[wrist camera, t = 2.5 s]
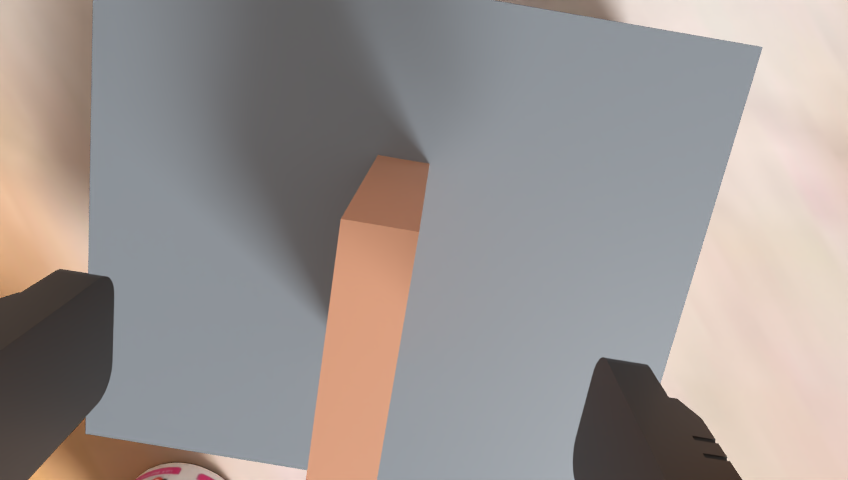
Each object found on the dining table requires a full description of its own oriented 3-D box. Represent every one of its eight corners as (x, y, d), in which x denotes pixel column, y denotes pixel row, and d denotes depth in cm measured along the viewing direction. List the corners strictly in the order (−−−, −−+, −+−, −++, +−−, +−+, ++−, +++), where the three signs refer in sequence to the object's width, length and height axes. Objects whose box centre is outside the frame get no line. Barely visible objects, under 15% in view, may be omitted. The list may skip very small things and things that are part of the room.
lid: (724, 44, 16) (940, 56, 9) (601, 472, 20) (686, 720, 13) (137, -58, 16) (-113, -127, 9) (122, 393, 20) (-65, 599, 13)
